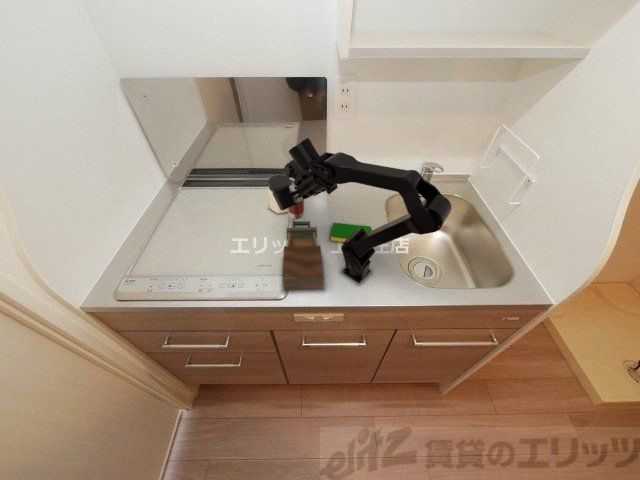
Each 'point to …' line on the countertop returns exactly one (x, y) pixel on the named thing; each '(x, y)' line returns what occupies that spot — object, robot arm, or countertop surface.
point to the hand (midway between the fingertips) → (293, 196)
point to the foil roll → (296, 207)
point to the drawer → (302, 235)
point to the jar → (276, 183)
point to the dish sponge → (345, 231)
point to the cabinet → (302, 268)
